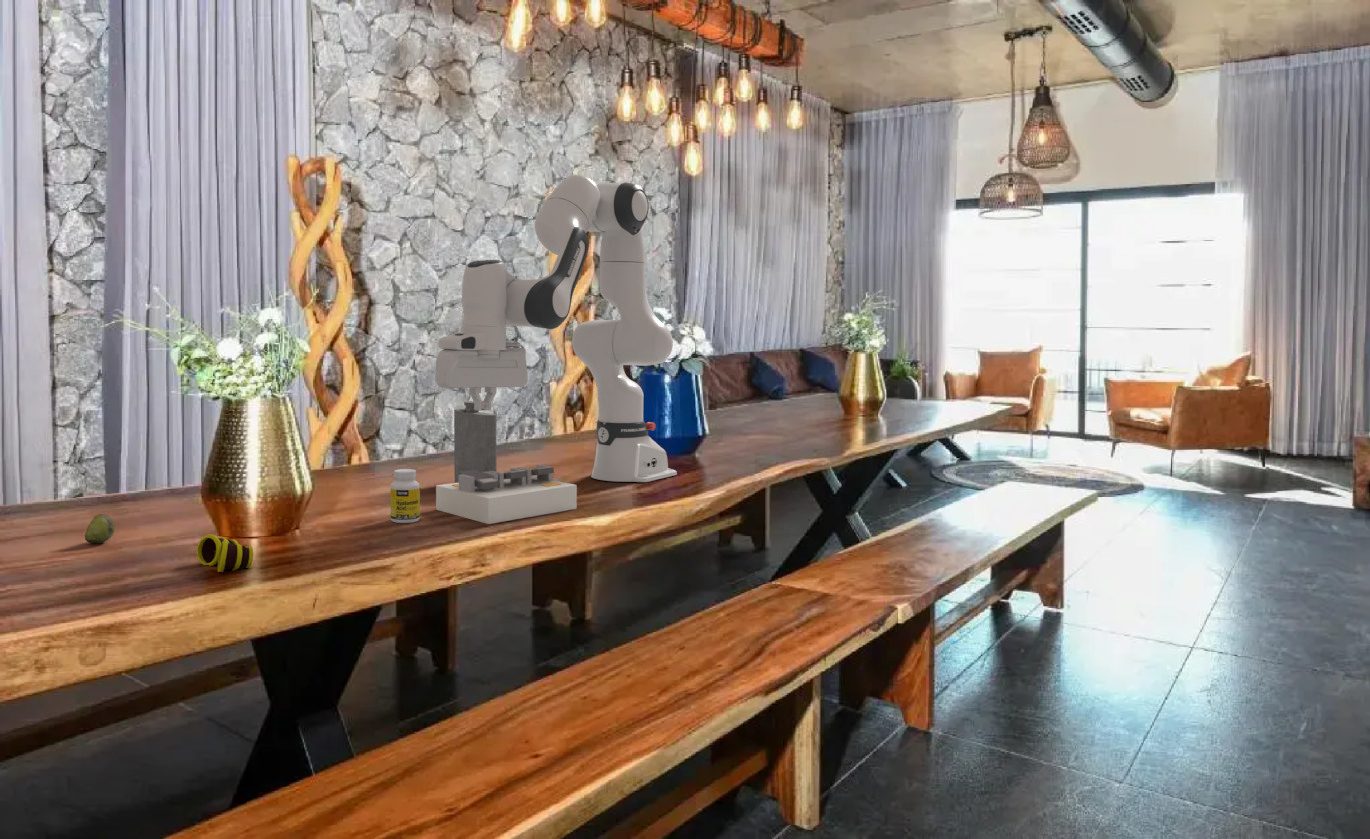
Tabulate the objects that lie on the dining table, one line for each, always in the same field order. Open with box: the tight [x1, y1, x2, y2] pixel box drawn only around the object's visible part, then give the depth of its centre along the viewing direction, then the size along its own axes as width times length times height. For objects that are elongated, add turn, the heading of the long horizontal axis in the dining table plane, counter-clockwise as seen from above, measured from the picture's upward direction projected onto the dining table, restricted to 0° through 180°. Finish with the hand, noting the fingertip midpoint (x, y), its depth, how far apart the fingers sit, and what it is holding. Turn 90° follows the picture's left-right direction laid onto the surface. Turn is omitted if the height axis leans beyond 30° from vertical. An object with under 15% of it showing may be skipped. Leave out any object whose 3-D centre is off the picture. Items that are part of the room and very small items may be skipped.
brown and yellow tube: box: [196, 533, 254, 573], centre depth 148 cm, size 10×5×5 cm, turn 48°
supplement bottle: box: [390, 468, 421, 524], centre depth 183 cm, size 5×5×10 cm
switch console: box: [435, 464, 578, 525], centre depth 195 cm, size 22×18×8 cm
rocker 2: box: [503, 470, 527, 479], centre depth 195 cm, size 4×8×1 cm, turn 47°
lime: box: [84, 513, 116, 545], centre depth 161 cm, size 4×5×5 cm
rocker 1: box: [458, 470, 499, 490], centre depth 190 cm, size 4×8×1 cm, turn 47°
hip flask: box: [453, 400, 498, 483], centre depth 218 cm, size 16×4×20 cm, turn 42°
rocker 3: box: [530, 466, 555, 476], centre depth 200 cm, size 4×8×1 cm, turn 47°
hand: (482, 410), depth 191 cm, fingers closed
